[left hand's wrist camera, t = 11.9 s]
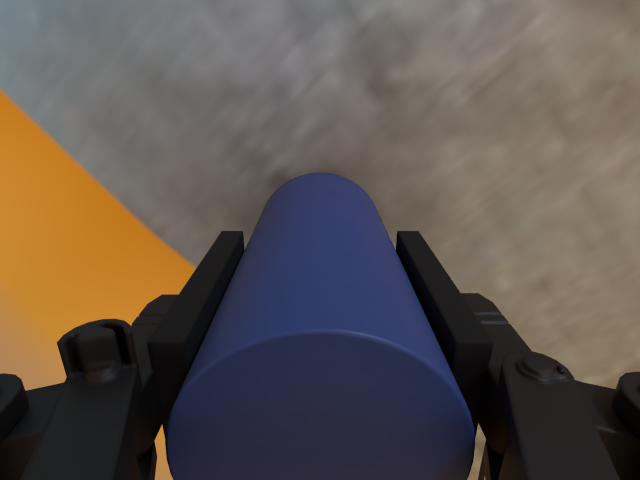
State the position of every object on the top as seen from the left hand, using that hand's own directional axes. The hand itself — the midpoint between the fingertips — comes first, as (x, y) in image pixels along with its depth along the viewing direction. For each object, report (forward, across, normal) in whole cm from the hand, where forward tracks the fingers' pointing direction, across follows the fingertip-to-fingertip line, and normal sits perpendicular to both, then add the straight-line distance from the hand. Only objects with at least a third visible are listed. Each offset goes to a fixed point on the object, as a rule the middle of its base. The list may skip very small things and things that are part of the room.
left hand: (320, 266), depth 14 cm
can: (+4, 0, 0) cm, 4 cm away
